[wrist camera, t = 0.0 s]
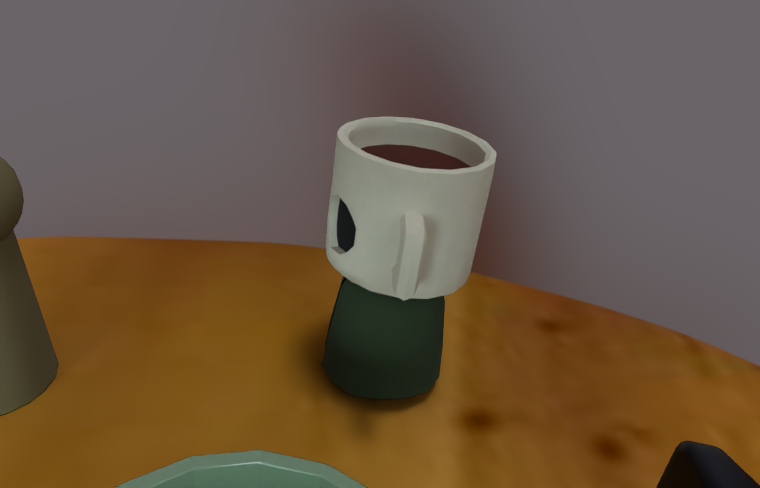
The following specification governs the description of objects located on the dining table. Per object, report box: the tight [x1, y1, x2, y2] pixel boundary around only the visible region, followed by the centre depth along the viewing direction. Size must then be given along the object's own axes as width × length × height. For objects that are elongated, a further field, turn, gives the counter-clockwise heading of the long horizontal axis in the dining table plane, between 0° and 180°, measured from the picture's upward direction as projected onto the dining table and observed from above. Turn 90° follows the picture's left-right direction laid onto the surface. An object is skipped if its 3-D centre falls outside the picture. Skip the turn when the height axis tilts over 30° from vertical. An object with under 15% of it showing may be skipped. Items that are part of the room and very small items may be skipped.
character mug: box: [322, 117, 496, 399], centre depth 31 cm, size 11×7×13 cm, turn 179°
